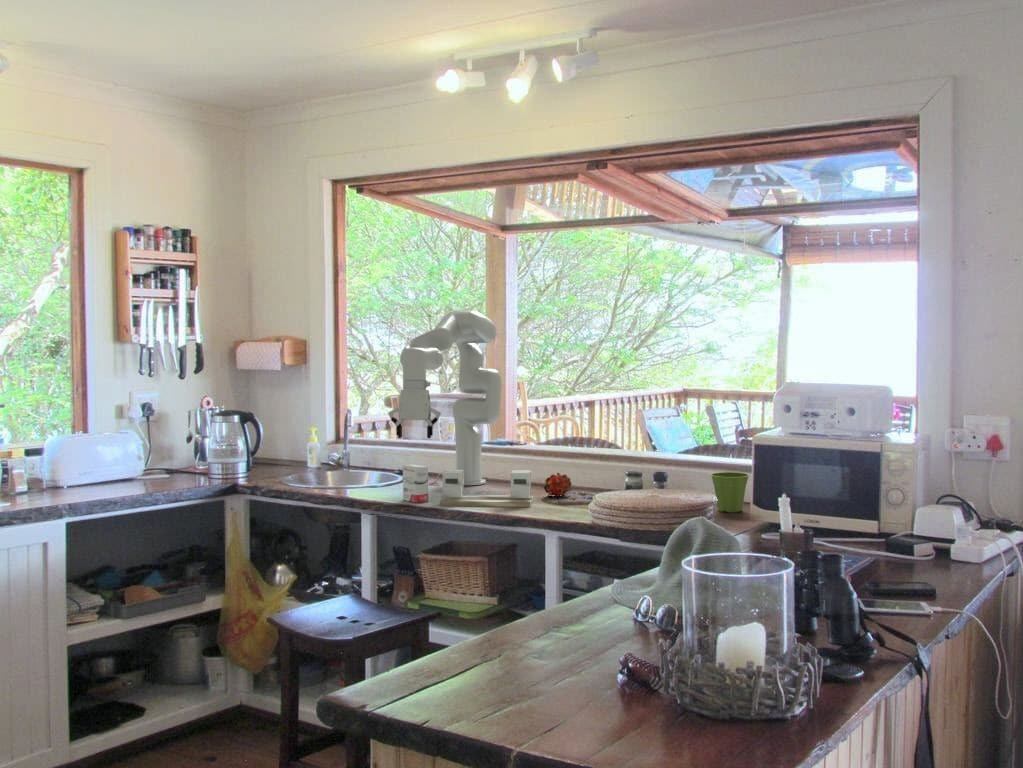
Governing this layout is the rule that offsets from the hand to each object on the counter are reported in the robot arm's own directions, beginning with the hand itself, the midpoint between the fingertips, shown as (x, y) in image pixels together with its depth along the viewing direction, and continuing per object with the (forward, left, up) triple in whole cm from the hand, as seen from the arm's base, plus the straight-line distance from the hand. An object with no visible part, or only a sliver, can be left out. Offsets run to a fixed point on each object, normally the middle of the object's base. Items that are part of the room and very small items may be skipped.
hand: (414, 437), depth 316 cm
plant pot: (+12, +100, -21) cm, 103 cm away
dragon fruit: (-12, +46, -21) cm, 52 cm away
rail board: (+3, +24, -21) cm, 32 cm away
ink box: (0, 0, -21) cm, 21 cm away
